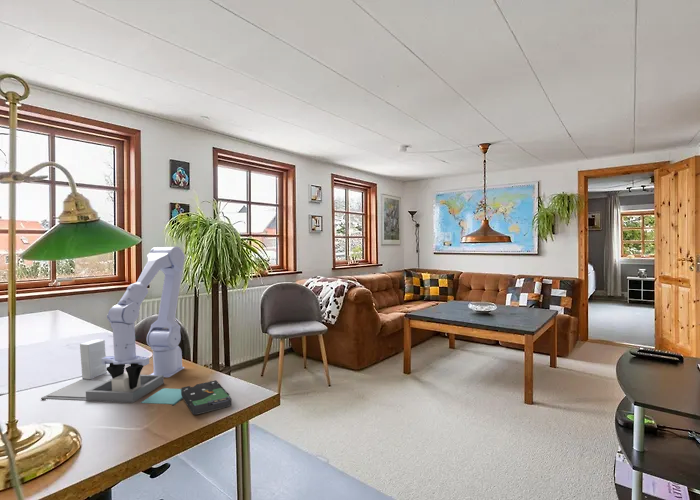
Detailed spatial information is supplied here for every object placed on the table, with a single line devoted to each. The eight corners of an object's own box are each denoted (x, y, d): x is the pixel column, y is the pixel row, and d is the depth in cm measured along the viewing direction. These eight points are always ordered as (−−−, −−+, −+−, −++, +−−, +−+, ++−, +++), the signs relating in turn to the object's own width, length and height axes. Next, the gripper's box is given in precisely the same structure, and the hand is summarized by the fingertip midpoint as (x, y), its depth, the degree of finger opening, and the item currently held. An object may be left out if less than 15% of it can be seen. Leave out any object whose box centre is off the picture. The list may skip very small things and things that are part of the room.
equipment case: (80, 381, 126) (80, 372, 126) (163, 384, 122) (163, 375, 122) (41, 399, 113) (40, 389, 112) (133, 403, 108) (132, 393, 108)
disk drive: (180, 397, 111) (193, 416, 99) (180, 387, 111) (193, 405, 99) (216, 388, 117) (232, 405, 105) (216, 379, 117) (232, 395, 105)
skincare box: (98, 372, 135) (96, 339, 134) (107, 373, 133) (105, 339, 133) (81, 378, 129) (79, 343, 129) (90, 379, 128) (88, 344, 127)
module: (129, 386, 120) (128, 371, 120) (140, 387, 119) (139, 371, 119) (112, 396, 113) (111, 379, 113) (124, 396, 113) (123, 379, 112)
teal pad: (163, 389, 118) (163, 388, 118) (193, 390, 116) (193, 389, 116) (141, 404, 108) (141, 402, 108) (173, 405, 107) (173, 403, 107)
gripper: (92, 347, 113) (94, 392, 113) (137, 347, 111) (139, 393, 111) (110, 340, 120) (112, 382, 120) (152, 341, 118) (154, 384, 118)
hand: (126, 387), depth 116 cm, fingers closed on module, 4 cm apart
